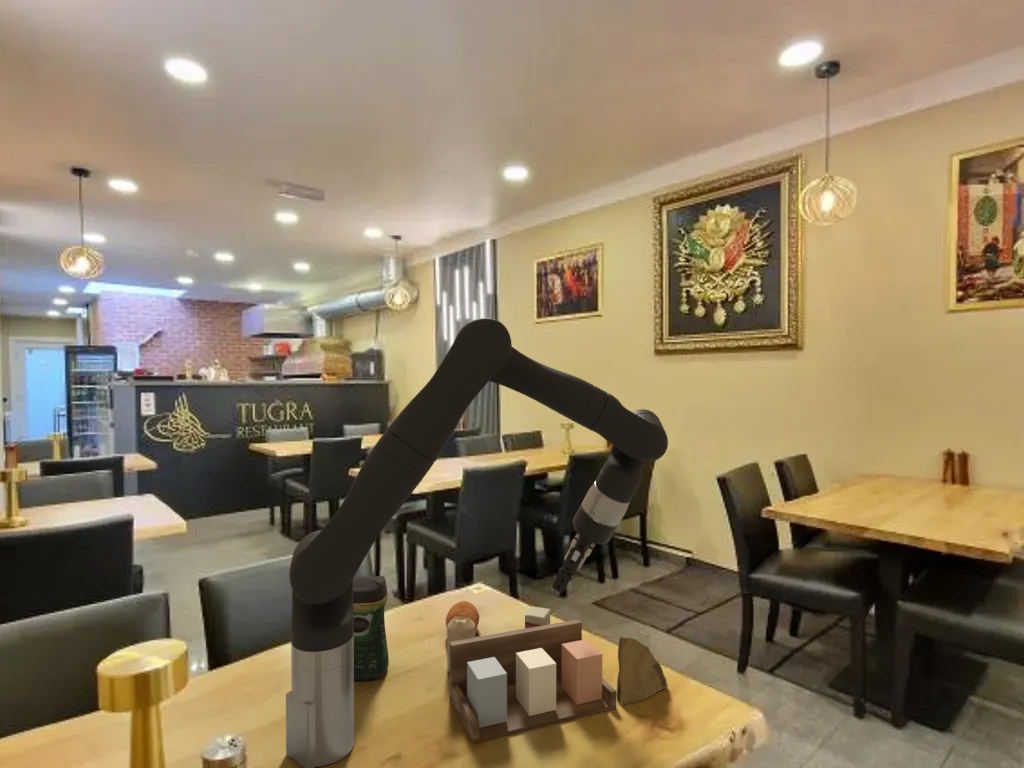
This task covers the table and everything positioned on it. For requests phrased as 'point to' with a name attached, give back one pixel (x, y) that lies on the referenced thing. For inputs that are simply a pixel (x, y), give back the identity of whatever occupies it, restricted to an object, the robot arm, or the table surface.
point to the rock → (637, 672)
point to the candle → (459, 632)
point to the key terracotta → (581, 671)
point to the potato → (463, 612)
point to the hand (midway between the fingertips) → (563, 578)
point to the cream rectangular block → (535, 681)
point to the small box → (537, 617)
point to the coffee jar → (369, 627)
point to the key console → (505, 653)
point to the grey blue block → (487, 691)
